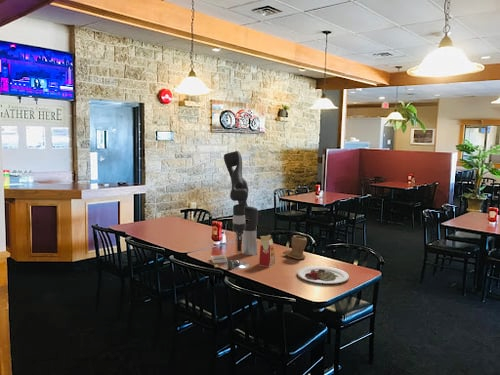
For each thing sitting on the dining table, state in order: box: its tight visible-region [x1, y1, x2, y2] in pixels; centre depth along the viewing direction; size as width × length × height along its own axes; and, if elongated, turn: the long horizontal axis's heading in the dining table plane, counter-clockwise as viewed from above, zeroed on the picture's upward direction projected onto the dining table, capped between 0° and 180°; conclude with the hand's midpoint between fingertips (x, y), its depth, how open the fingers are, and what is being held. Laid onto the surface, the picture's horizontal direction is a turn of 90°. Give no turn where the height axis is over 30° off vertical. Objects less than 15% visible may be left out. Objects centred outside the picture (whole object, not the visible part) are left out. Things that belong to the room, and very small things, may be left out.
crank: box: [227, 259, 241, 271], centre depth 253 cm, size 13×4×5 cm, turn 155°
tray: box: [210, 254, 228, 264], centre depth 266 cm, size 9×9×2 cm
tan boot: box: [282, 234, 308, 260], centre depth 278 cm, size 15×12×15 cm
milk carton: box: [258, 234, 277, 269], centre depth 259 cm, size 9×9×20 cm
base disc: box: [213, 261, 250, 270], centre depth 256 cm, size 22×16×2 cm
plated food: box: [296, 265, 350, 285], centre depth 240 cm, size 30×30×3 cm
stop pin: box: [235, 239, 243, 254], centre depth 245 cm, size 4×4×8 cm
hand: (238, 249), depth 245 cm, fingers closed on stop pin, 4 cm apart
